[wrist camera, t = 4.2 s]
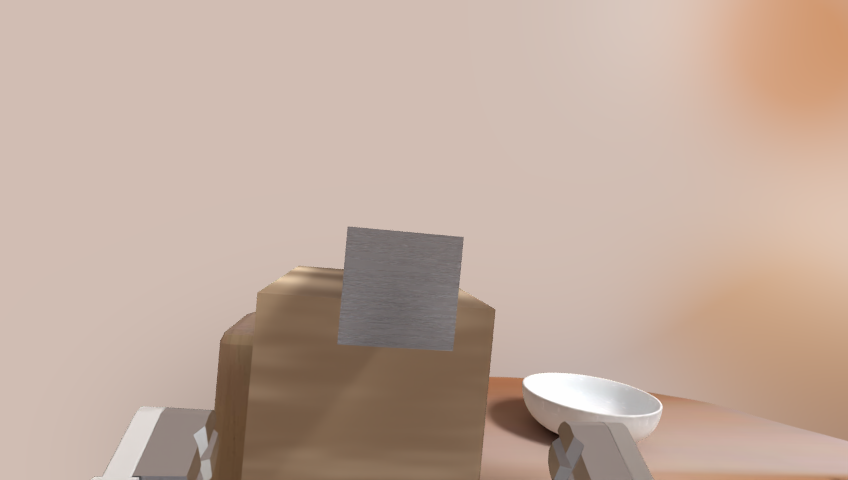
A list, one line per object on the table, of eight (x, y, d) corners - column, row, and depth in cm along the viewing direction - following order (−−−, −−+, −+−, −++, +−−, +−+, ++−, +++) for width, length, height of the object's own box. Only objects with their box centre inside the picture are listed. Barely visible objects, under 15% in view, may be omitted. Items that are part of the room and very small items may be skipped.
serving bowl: (635, 418, 86) (639, 380, 86) (680, 475, 65) (685, 424, 65) (515, 402, 89) (519, 364, 89) (522, 451, 68) (526, 403, 68)
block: (331, 510, 50) (348, 316, 49) (325, 581, 40) (346, 338, 39) (228, 510, 48) (246, 309, 48) (196, 583, 38) (217, 330, 38)
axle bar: (349, 269, 34) (353, 227, 34) (392, 273, 35) (396, 231, 34) (337, 344, 12) (347, 226, 12) (453, 351, 13) (463, 236, 13)
